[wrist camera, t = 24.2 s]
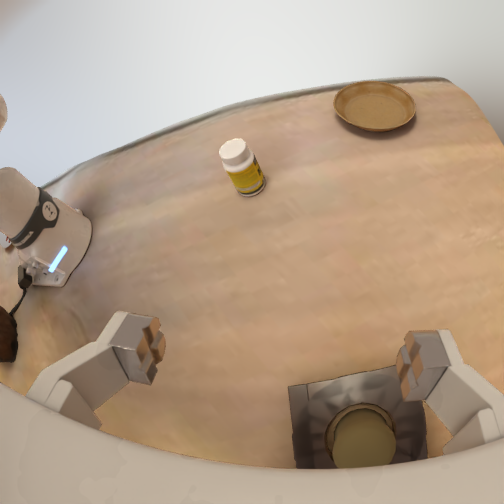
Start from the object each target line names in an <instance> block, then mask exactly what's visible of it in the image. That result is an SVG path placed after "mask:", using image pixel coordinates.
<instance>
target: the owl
mask: <svg viewBox="0 0 504 504" xmlns="http://www.w3.org/2000/svg"><path fill="white" fill-rule="evenodd" d="M16 327H17V324H16V321H15V320H14V319H13V317H12V316H11V315H10V314H9V313H8V312H7V311H6V310H5V309H4V308H2V307H1V306H0V362H11V363H12V362H14V361H15V359H16V354H17V349H18V342H17V331H16Z"/></svg>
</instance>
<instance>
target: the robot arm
mask: <svg viewBox="0 0 504 504" xmlns="http://www.w3.org/2000/svg"><path fill="white" fill-rule="evenodd" d="M6 121H7V107H6V103H5V101H4V99H3V97H2V96H1V95H0V132H1V130H2V128H3V126H4V125H5V123H6ZM0 232H2V233H3V234H5V235H6V236H7V239H8V238H9V243H10V241H11V242H12V244H13V245H14V246H15V247H16V248H17V249H18V254H19V263H20V266H19V267H18V284H19V286H20V288H21V289H23V296H22V298H21V300H20V301H19V302H18V304H17V305H16V306H15V307H14V308H13V309H12V310H11V312H10V313H9V314H10V315H11V316H12V314H13V313H14V312H15V311H16V309H17V308H18V307H19V305H20V304H21V302H22V300H23V298H24V296H25V294H26V288H28V287H29V286H30V285H31V284H32V285H41V286H59V287H62V286H63V285H64V284H65V283H66V281H67V279H68V277H69V275H70V273H71V272H72V271H73V270H74V268H75V267H76V266H77V265H78V264H79V262H80V261H81V259H82V258H83V256H84V254H85V252H86V250H87V247H88V245H89V242H90V238H91V232H92V227H91V222H90V220H89V219H88V218H86V217H84V216H83V214H82V211H81V210H79V209H78V208H77V209H75V210H74V209H73V208H71V207H70V206H68V205H67V204H65V203H63V202H62V201H60V200H59V199H57V198H52V197H51V196H50V195H49V194H48V193H47V192H46V191H45V190H43V189H42V188H40V187H36V186H35V185H33V184H32V183H31V182H30V181H29V180H28V179H26V178H25V177H24V176H23V175H22V174H21V173H20V172H18V171H17V170H16V169H14V168H11V167H5V168H2V169H0ZM7 239H6V241H7ZM160 326H161V324H160V321H159V318H157V317H154V316H148V315H142V314H136V313H129V312H123V311H117V312H115V313H114V315H113V316H112V318H111V319H110V321H109V322H108V324H107V325H106V327H105V328H104V330H103V331H102V333H101V334H100V336H99V337H98V339H97V340H96V342H90V343H89V344H87V345H85V346H83V347H82V348H80V349H78V350H76V351H75V352H73V353H71V354H69V355H67V356H66V357H64V358H62V359H60V360H59V361H57V362H55V363H53V364H52V365H50V366H48V367H46V368H45V369H43V370H42V371H41V372H40V374H39V375H38V377H37V378H36V380H35V381H34V383H33V385H32V386H31V388H30V389H29V391H28V392H27V394H26V396H23V395H22V394H20V393H18V392H16V391H15V390H13V389H11V388H9V387H8V386H6V385H4V384H3V383H1V382H0V504H504V395H503V394H502V393H501V392H500V391H499V390H498V389H496V388H495V387H494V386H493V385H492V384H491V383H490V382H488V381H487V380H486V379H485V378H484V377H482V376H481V375H480V374H479V373H478V372H477V371H475V370H474V369H473V368H472V367H471V366H469V365H468V364H466V365H465V364H464V362H463V359H462V357H461V354H460V352H459V350H458V347H457V345H456V343H455V340H454V338H453V336H452V334H451V332H450V330H448V329H439V330H419V331H409V332H408V333H407V334H406V336H405V338H404V341H405V345H404V346H403V347H401V348H400V350H399V352H398V355H397V361H396V368H397V374H398V376H399V377H400V378H401V379H402V380H403V381H402V383H401V385H400V388H401V392H402V397H403V402H408V401H421V400H426V401H425V402H426V403H427V404H428V405H429V407H430V408H431V409H432V410H433V412H434V413H435V414H436V415H437V417H438V418H439V419H440V420H441V421H442V423H443V424H444V425H445V426H446V428H447V429H448V430H449V431H450V433H451V434H452V435H453V438H452V439H451V440H450V441H449V442H448V443H447V444H445V446H444V447H443V454H444V455H443V456H438V457H433V458H428V459H423V460H417V461H412V462H405V463H398V464H391V465H382V466H373V467H361V468H344V469H290V468H272V467H260V466H250V465H241V464H234V463H226V462H220V461H214V460H208V459H202V458H197V457H192V456H187V455H183V454H178V453H174V452H170V451H165V450H161V449H158V448H154V447H150V446H147V445H143V444H140V443H136V442H133V441H130V440H127V439H123V438H120V437H117V436H114V435H112V434H109V433H106V432H103V431H100V427H101V425H102V423H101V420H100V419H99V418H98V417H97V416H96V414H95V413H94V412H93V411H95V410H96V409H97V408H98V407H100V406H101V405H102V404H103V403H105V402H106V401H107V400H108V399H109V398H111V397H112V396H113V395H114V394H116V393H117V392H118V391H119V390H121V389H122V388H123V387H124V386H125V385H127V384H128V383H129V381H132V382H137V383H142V384H147V385H151V384H152V382H153V380H154V377H155V375H156V373H157V371H158V370H157V367H156V364H157V363H159V362H160V361H162V359H163V357H164V354H165V348H166V342H165V337H164V334H163V333H161V332H160V331H159V328H160Z"/></svg>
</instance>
